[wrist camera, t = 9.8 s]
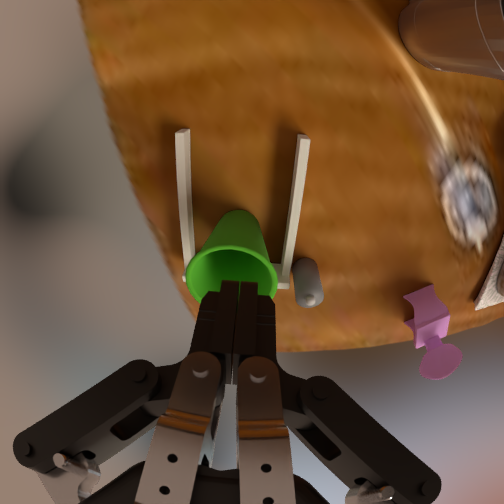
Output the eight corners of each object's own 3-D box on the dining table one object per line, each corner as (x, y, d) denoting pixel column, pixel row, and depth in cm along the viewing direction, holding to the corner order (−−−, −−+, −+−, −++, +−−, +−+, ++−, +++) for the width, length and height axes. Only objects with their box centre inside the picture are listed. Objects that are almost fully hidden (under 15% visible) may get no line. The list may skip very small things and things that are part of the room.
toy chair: (437, 279, 40) (474, 346, 27) (435, 310, 44) (463, 371, 32) (397, 296, 42) (427, 368, 30) (399, 324, 46) (422, 390, 34)
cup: (214, 259, 38) (201, 318, 29) (196, 201, 33) (171, 252, 24) (278, 250, 37) (283, 311, 28) (268, 188, 32) (270, 238, 23)
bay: (181, 128, 28) (161, 142, 22) (343, 140, 28) (362, 156, 22) (190, 270, 40) (179, 303, 34) (314, 278, 40) (321, 312, 34)
